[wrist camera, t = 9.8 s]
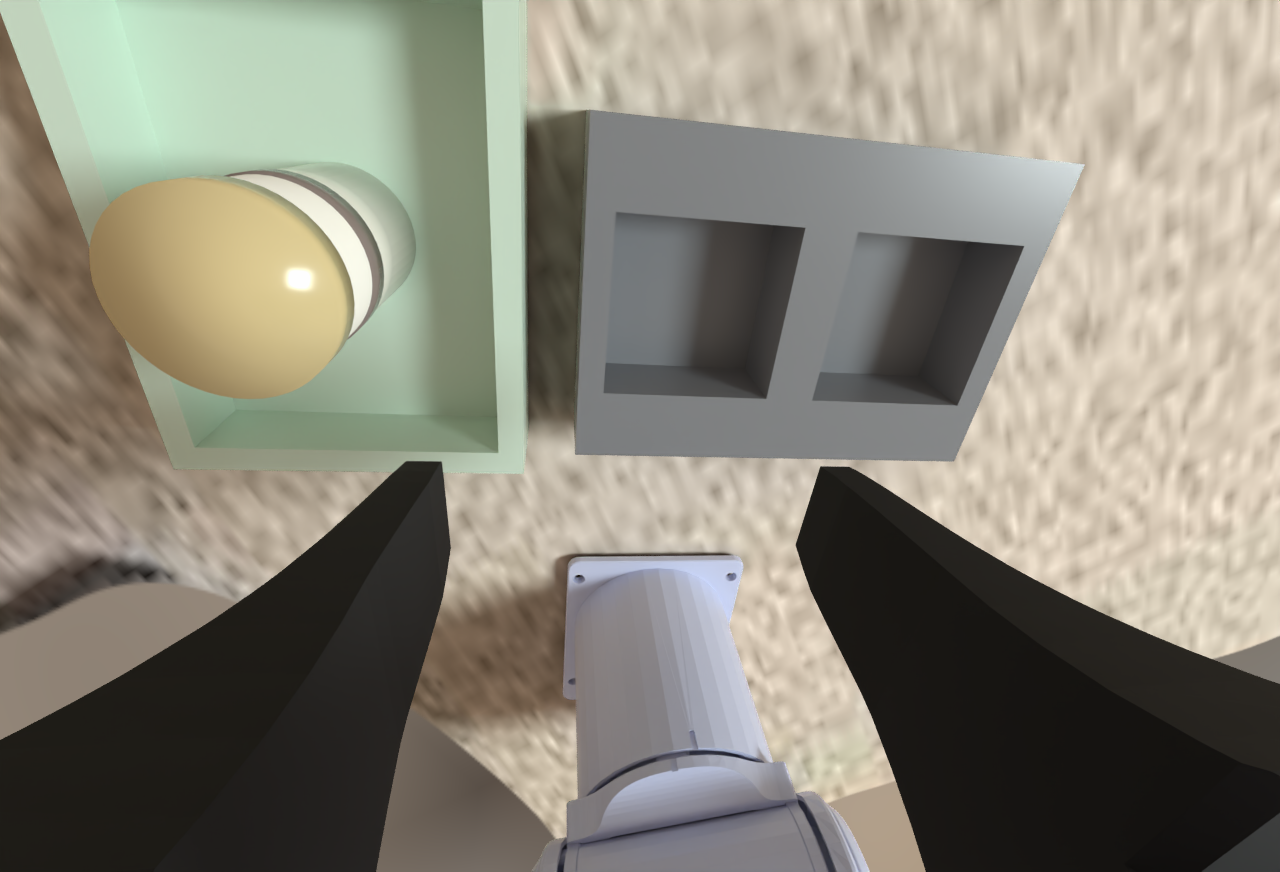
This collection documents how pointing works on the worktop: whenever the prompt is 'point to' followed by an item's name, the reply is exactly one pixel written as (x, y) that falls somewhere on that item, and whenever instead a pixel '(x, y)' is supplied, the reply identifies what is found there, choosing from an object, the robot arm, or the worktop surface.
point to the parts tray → (311, 133)
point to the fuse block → (796, 289)
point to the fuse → (250, 272)
